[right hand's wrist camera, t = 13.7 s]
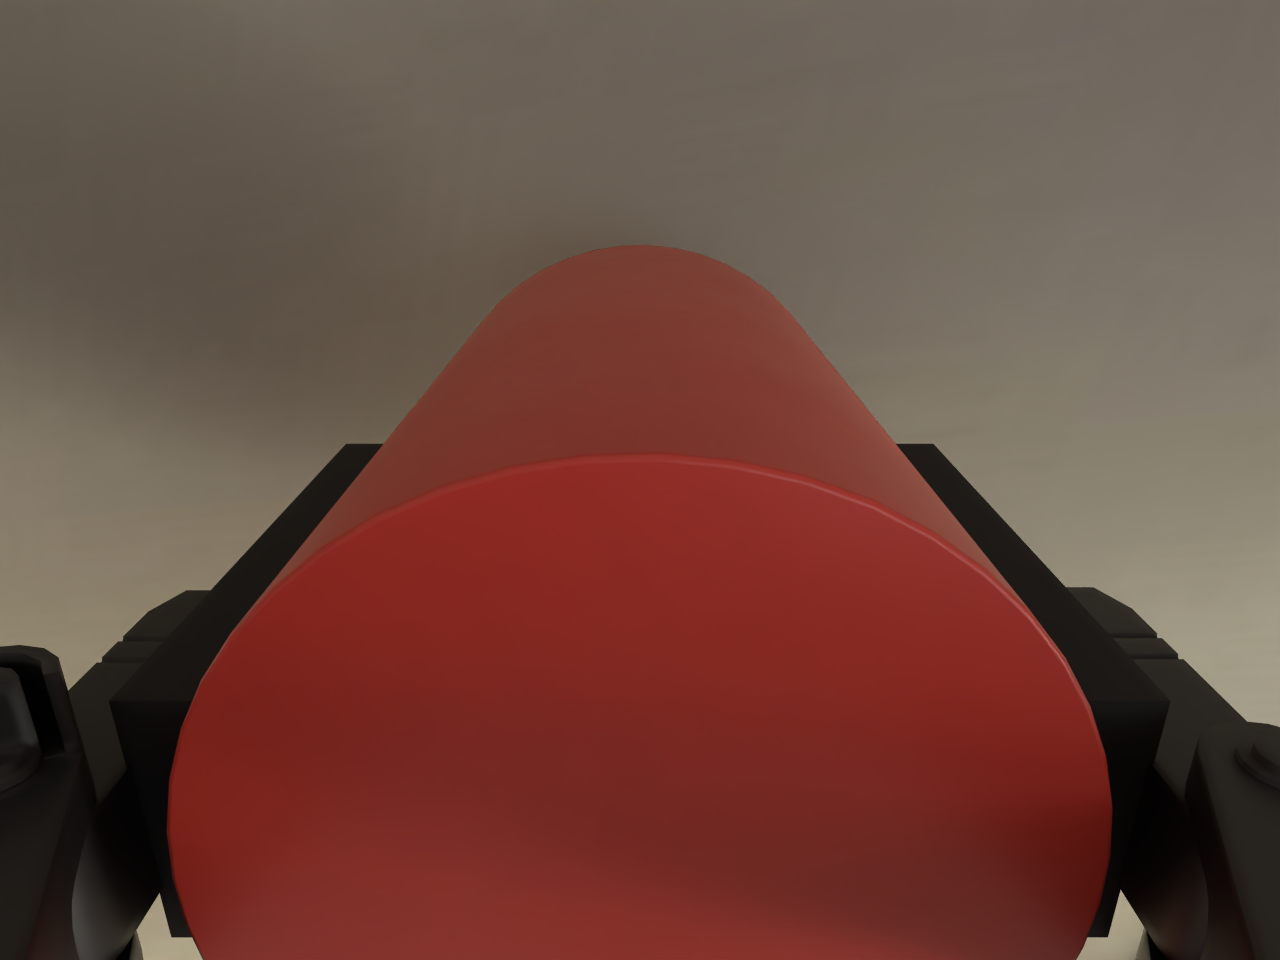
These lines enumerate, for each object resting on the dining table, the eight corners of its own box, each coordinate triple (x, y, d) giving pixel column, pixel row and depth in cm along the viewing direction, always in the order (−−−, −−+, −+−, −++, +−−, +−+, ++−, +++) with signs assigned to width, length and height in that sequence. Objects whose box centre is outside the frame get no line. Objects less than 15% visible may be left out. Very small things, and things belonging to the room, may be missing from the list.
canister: (905, 348, 16) (1325, 699, 6) (725, 659, 19) (823, 1263, 9) (533, 173, 15) (327, 261, 5) (394, 528, 18) (76, 1051, 8)
